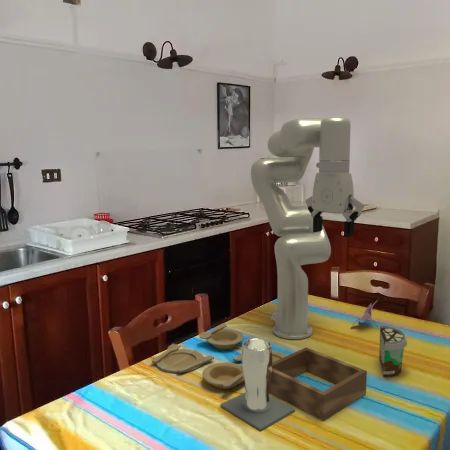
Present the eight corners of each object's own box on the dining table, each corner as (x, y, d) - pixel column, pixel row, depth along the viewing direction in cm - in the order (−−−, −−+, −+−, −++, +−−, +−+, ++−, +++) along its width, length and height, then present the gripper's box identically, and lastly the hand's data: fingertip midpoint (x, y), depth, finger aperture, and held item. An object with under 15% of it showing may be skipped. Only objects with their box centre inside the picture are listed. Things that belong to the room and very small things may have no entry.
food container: (409, 381, 120) (411, 344, 119) (383, 379, 122) (385, 342, 120) (401, 360, 132) (403, 325, 131) (378, 358, 134) (379, 324, 132)
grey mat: (220, 406, 111) (220, 404, 110) (254, 390, 118) (254, 387, 118) (260, 431, 101) (260, 428, 101) (294, 411, 108) (294, 409, 108)
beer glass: (240, 398, 113) (239, 338, 110) (269, 396, 113) (269, 337, 111) (244, 415, 106) (243, 351, 103) (275, 413, 106) (275, 349, 104)
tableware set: (142, 363, 134) (142, 349, 133) (215, 332, 155) (215, 320, 155) (236, 408, 111) (235, 392, 110) (306, 364, 132) (306, 350, 131)
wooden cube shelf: (263, 389, 118) (263, 366, 117) (305, 368, 128) (306, 347, 127) (323, 421, 104) (324, 395, 103) (366, 394, 115) (366, 370, 114)
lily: (374, 322, 163) (361, 297, 163) (399, 319, 152) (384, 293, 153) (351, 340, 157) (337, 314, 158) (375, 339, 147) (360, 311, 147)
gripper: (298, 167, 125) (297, 231, 128) (354, 169, 112) (352, 241, 115) (316, 166, 130) (315, 228, 133) (372, 168, 117) (370, 236, 120)
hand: (332, 234), depth 124 cm, fingers open, 9 cm apart
